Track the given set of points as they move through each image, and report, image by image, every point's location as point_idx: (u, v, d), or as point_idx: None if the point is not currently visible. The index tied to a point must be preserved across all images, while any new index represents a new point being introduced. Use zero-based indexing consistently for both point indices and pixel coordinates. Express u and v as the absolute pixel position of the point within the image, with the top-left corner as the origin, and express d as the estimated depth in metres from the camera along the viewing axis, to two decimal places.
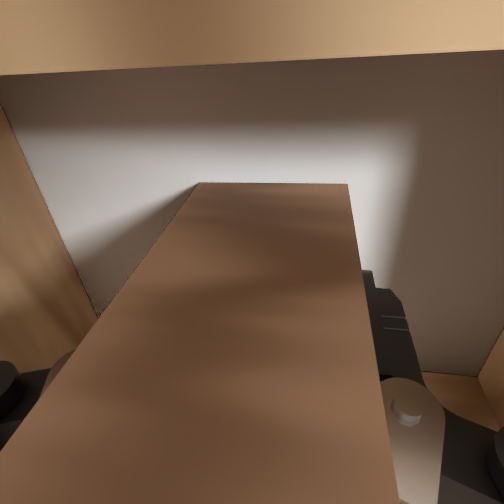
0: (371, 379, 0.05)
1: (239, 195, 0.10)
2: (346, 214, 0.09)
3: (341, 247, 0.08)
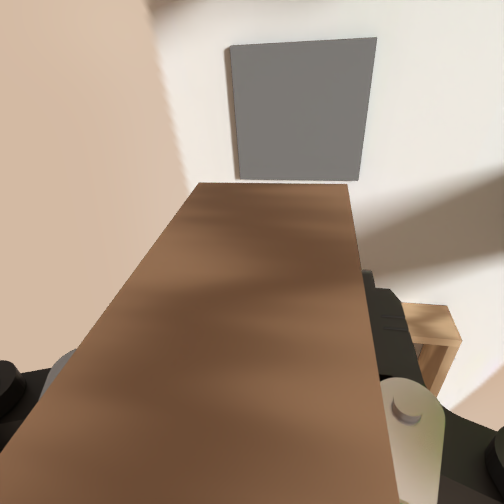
0: (371, 379, 0.05)
1: (239, 195, 0.10)
2: (346, 214, 0.09)
3: (341, 247, 0.08)
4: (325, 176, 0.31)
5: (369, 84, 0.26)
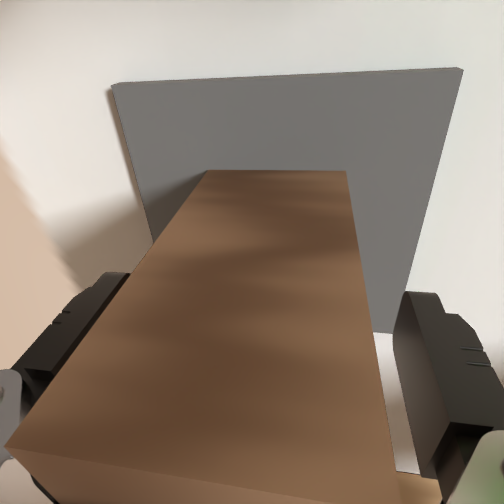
0: (364, 321, 0.06)
1: (246, 180, 0.11)
2: (344, 196, 0.10)
3: (339, 222, 0.09)
4: None
5: (432, 172, 0.11)
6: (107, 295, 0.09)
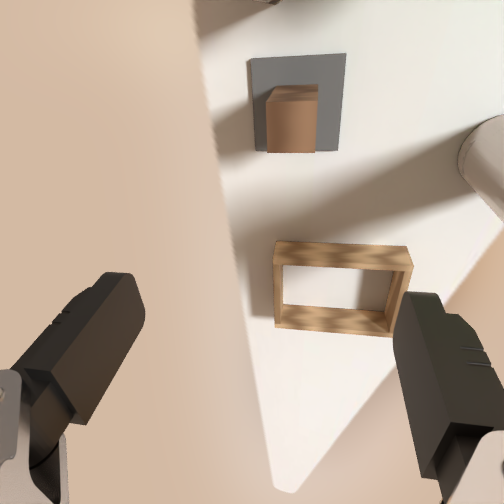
0: (316, 95, 0.34)
1: (289, 86, 0.39)
2: (316, 87, 0.38)
3: (314, 89, 0.37)
4: (315, 147, 0.44)
5: (342, 83, 0.39)
6: (107, 295, 0.09)
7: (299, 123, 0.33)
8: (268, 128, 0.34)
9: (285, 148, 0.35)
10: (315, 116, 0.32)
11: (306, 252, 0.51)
